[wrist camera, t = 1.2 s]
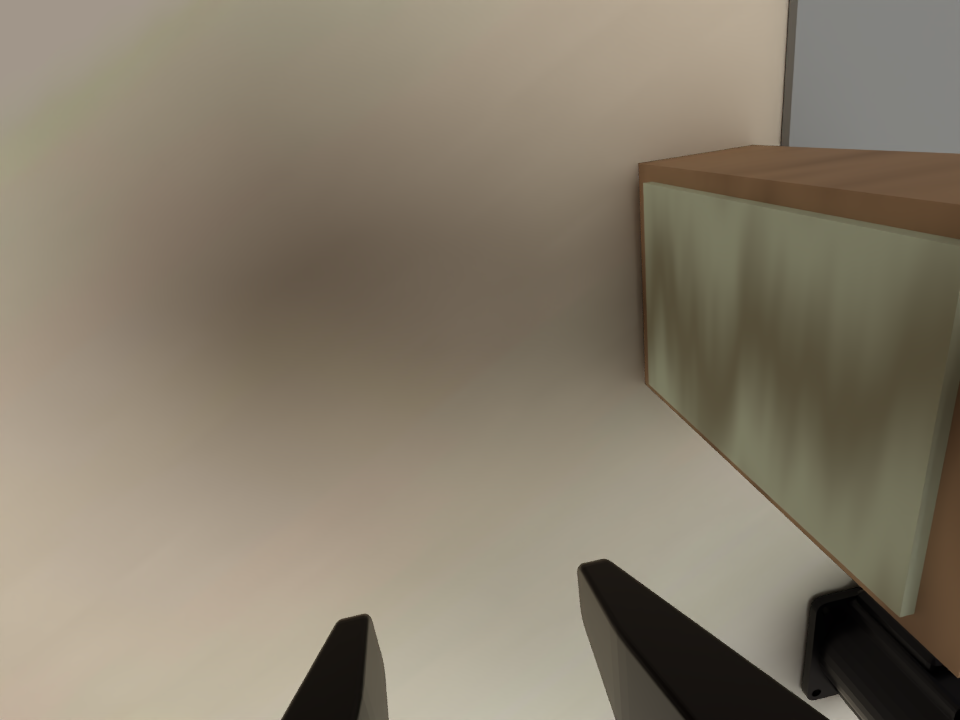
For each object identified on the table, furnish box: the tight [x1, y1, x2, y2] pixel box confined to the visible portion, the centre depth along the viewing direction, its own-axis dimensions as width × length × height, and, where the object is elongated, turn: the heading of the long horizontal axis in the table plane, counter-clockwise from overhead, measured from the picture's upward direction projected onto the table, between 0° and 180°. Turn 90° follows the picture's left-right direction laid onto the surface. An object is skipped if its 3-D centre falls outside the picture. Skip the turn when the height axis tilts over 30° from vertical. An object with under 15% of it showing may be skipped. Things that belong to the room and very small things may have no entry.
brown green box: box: [639, 145, 960, 678], centre depth 15 cm, size 8×4×13 cm, turn 8°
